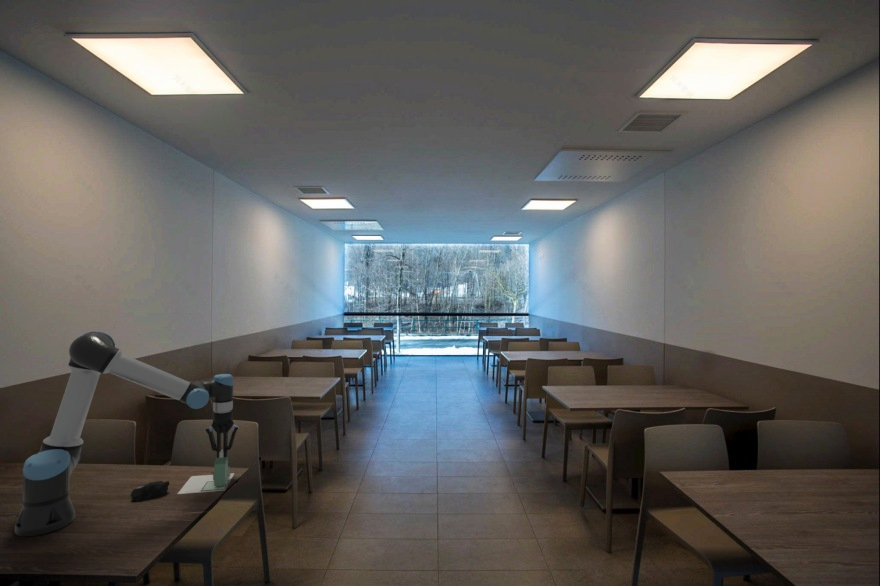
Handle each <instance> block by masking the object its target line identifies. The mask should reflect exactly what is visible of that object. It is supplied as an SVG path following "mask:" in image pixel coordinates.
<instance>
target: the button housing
mask: <svg viewBox="0 0 880 586" xmlns="http://www.w3.org/2000/svg"><path fill="white" fill-rule="evenodd" d="M230 468H231V467H230V466H228V473H227V477H228V476H229V474H231V473H230V471H231V470H230ZM212 475H213V480H214V471H213V472H212Z"/></svg>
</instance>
